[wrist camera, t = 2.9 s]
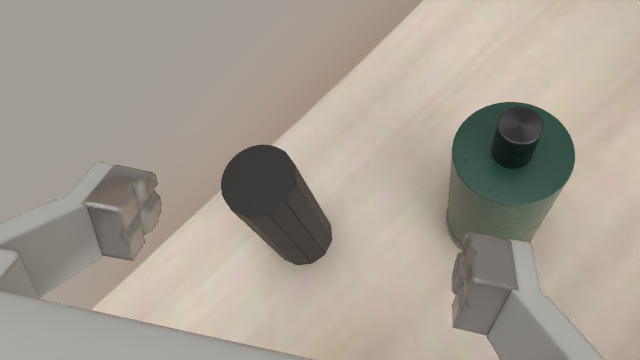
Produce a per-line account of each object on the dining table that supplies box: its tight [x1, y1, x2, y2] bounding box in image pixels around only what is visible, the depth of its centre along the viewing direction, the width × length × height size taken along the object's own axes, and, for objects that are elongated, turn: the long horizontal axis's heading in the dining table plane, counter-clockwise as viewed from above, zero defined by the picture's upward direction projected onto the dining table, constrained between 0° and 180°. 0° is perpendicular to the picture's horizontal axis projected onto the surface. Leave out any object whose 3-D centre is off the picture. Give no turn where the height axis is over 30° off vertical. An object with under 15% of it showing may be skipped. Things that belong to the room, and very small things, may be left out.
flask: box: [446, 102, 575, 250], centre depth 37 cm, size 8×8×18 cm
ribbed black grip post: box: [221, 145, 332, 265], centre depth 42 cm, size 6×6×14 cm
